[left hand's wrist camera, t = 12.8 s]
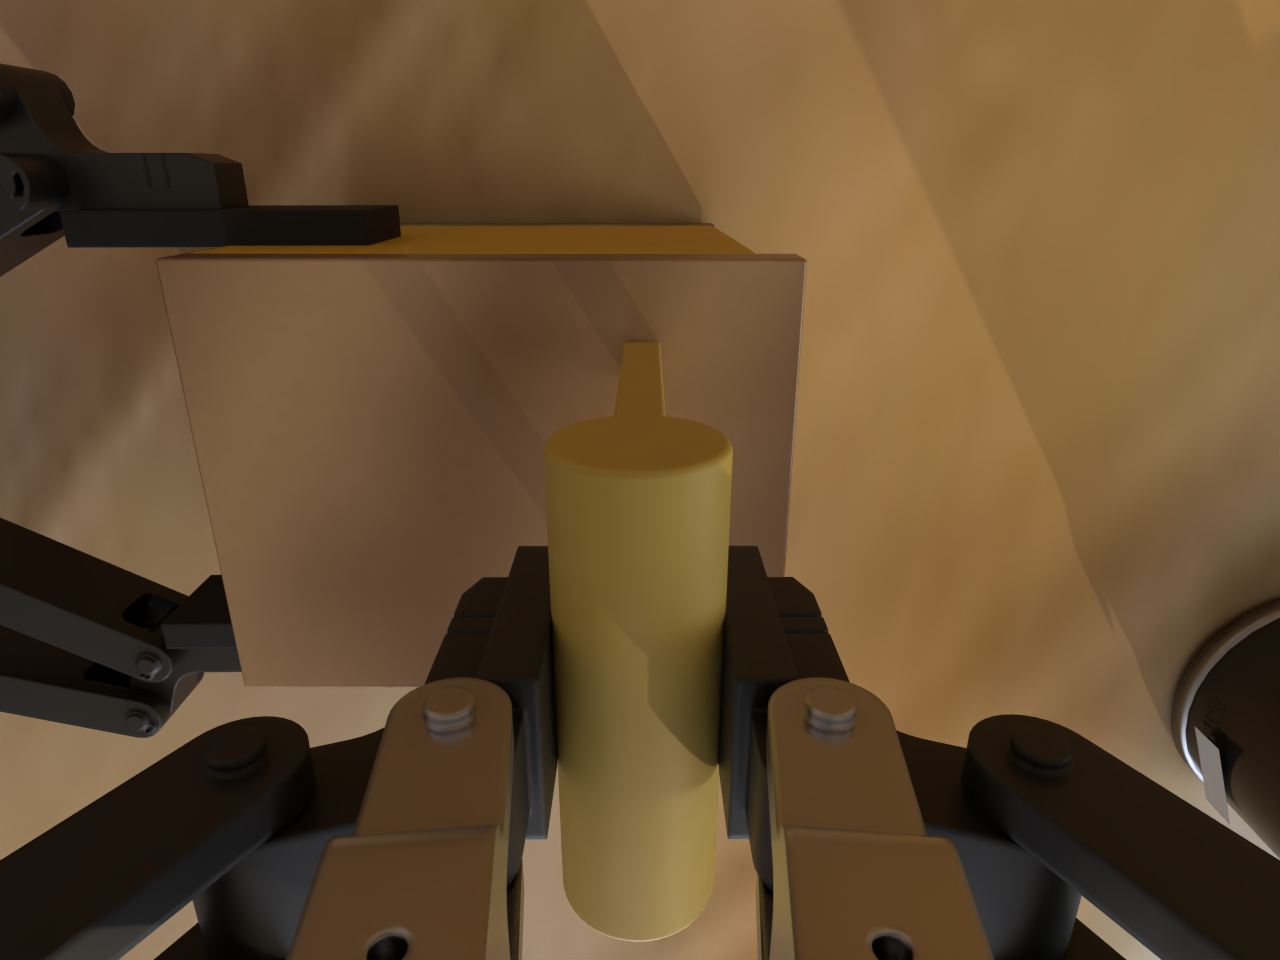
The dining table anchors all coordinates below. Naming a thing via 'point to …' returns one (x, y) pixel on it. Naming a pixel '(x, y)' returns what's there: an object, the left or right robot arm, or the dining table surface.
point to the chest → (534, 240)
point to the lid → (507, 498)
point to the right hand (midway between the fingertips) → (406, 433)
